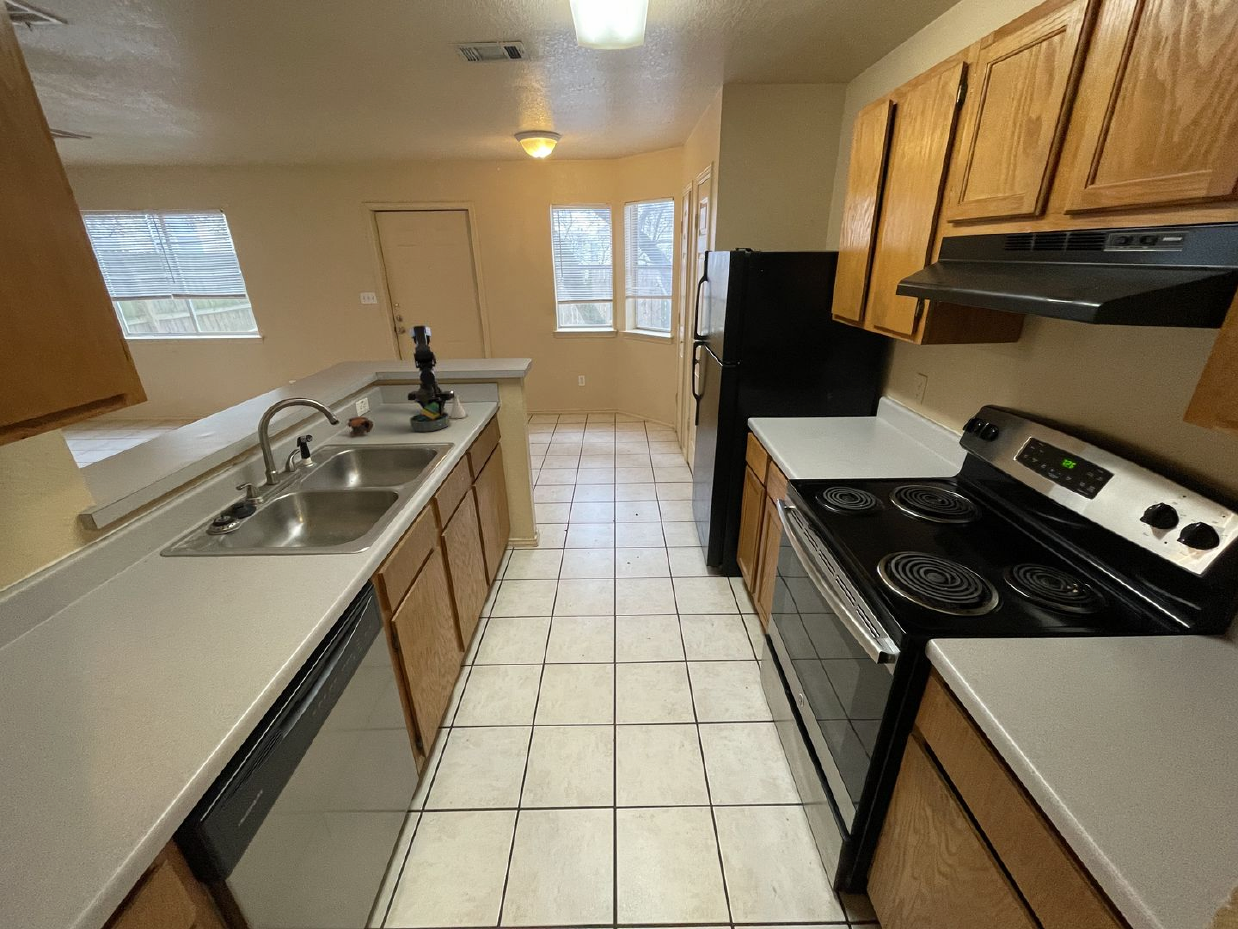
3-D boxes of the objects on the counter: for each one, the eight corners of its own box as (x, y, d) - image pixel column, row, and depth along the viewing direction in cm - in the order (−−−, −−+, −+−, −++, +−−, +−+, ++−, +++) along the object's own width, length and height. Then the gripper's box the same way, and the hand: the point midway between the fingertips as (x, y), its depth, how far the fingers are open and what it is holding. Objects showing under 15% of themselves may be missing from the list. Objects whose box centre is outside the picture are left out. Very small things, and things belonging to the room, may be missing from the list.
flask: (463, 418, 231) (460, 397, 228) (448, 419, 232) (444, 397, 228) (468, 414, 238) (465, 393, 234) (453, 414, 238) (449, 393, 234)
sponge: (431, 407, 223) (433, 402, 222) (442, 413, 224) (445, 408, 222) (421, 413, 215) (424, 407, 214) (433, 419, 215) (435, 413, 214)
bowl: (422, 420, 230) (420, 411, 228) (456, 421, 228) (454, 411, 226) (404, 432, 215) (402, 422, 214) (440, 432, 213) (438, 422, 212)
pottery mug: (343, 438, 212) (341, 419, 213) (360, 441, 221) (358, 423, 222) (366, 432, 209) (364, 413, 210) (383, 435, 218) (381, 416, 219)
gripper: (397, 384, 207) (404, 420, 213) (440, 383, 205) (446, 420, 211) (410, 377, 217) (417, 412, 223) (452, 377, 215) (457, 413, 221)
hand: (434, 414), depth 219 cm, fingers closed on sponge, 6 cm apart
